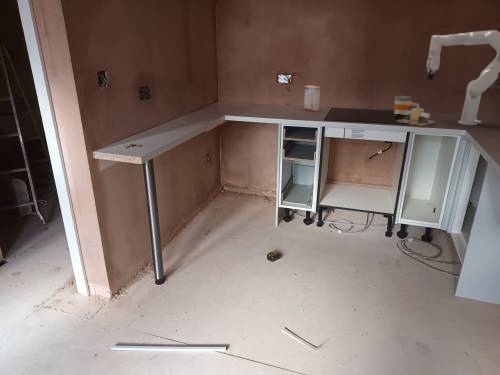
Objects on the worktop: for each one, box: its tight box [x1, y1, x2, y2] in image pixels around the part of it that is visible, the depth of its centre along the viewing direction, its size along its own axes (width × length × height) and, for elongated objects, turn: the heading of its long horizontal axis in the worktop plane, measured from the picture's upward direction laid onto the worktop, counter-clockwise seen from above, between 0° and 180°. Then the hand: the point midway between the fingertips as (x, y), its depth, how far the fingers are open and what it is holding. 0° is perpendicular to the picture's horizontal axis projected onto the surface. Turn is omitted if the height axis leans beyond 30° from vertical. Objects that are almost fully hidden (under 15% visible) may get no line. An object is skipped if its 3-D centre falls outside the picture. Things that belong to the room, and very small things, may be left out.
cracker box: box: [303, 84, 321, 112], centre depth 333 cm, size 14×6×21 cm, turn 30°
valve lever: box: [405, 101, 421, 109], centre depth 285 cm, size 11×3×4 cm, turn 34°
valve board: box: [395, 115, 436, 128], centre depth 285 cm, size 20×20×4 cm
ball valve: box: [405, 107, 431, 122], centre depth 284 cm, size 18×6×9 cm, turn 36°
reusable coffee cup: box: [393, 95, 412, 115], centre depth 312 cm, size 13×13×15 cm
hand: (430, 79), depth 282 cm, fingers closed
